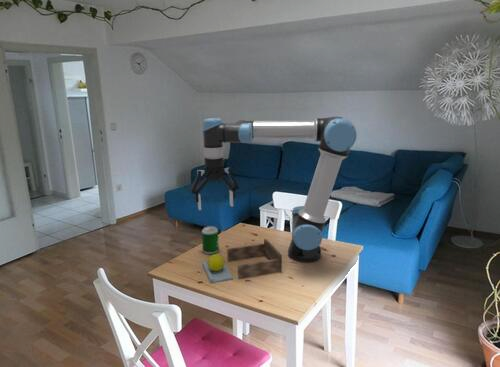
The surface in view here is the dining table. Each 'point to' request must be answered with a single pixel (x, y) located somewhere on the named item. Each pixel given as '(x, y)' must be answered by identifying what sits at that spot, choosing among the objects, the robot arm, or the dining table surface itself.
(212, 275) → the blue-grey book
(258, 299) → the dining table surface
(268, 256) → the crate
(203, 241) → the soda can
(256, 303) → the dining table surface
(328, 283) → the dining table surface
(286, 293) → the dining table surface
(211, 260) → the tennis ball
